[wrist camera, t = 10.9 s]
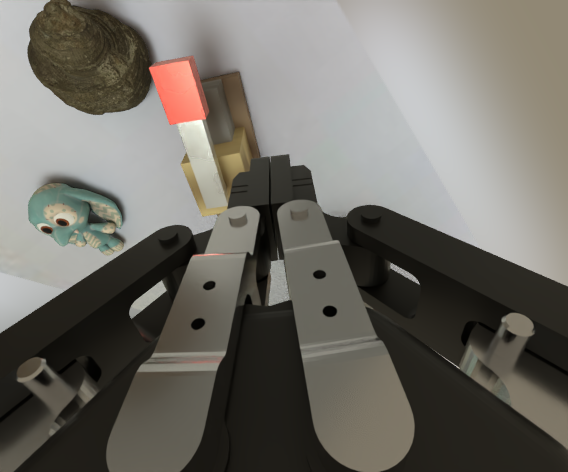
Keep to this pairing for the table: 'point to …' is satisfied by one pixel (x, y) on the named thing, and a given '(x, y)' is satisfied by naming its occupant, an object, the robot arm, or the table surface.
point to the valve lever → (191, 123)
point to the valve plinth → (225, 134)
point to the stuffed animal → (75, 217)
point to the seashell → (89, 58)
